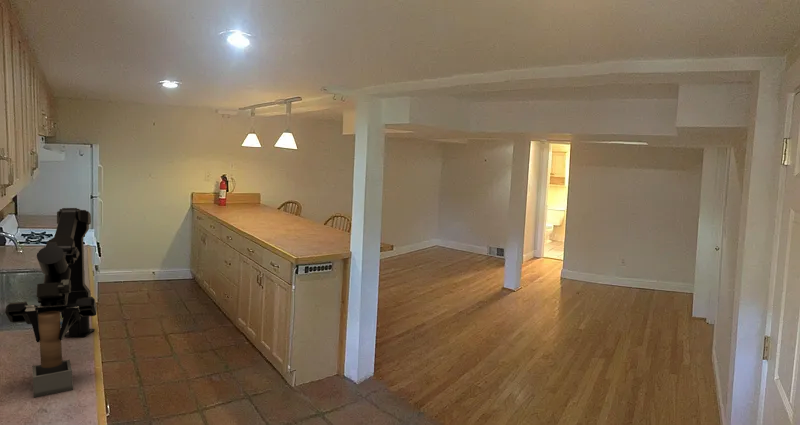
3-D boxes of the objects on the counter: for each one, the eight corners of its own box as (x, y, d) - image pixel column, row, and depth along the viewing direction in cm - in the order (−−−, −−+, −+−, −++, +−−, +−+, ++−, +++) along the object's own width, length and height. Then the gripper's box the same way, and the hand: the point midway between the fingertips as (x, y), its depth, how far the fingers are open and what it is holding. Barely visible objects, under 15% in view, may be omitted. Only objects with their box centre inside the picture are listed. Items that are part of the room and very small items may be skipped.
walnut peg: (46, 360, 132) (44, 310, 130) (65, 360, 133) (63, 310, 131) (37, 368, 128) (34, 316, 126) (56, 367, 128) (54, 316, 127)
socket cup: (33, 385, 132) (32, 366, 131) (70, 377, 136) (69, 359, 136) (33, 397, 125) (32, 377, 125) (72, 389, 130) (71, 370, 129)
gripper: (5, 271, 127) (-7, 330, 118) (93, 266, 134) (88, 321, 126) (15, 293, 135) (5, 350, 127) (98, 288, 143) (94, 341, 134)
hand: (49, 340), depth 128 cm, fingers closed on walnut peg, 4 cm apart
